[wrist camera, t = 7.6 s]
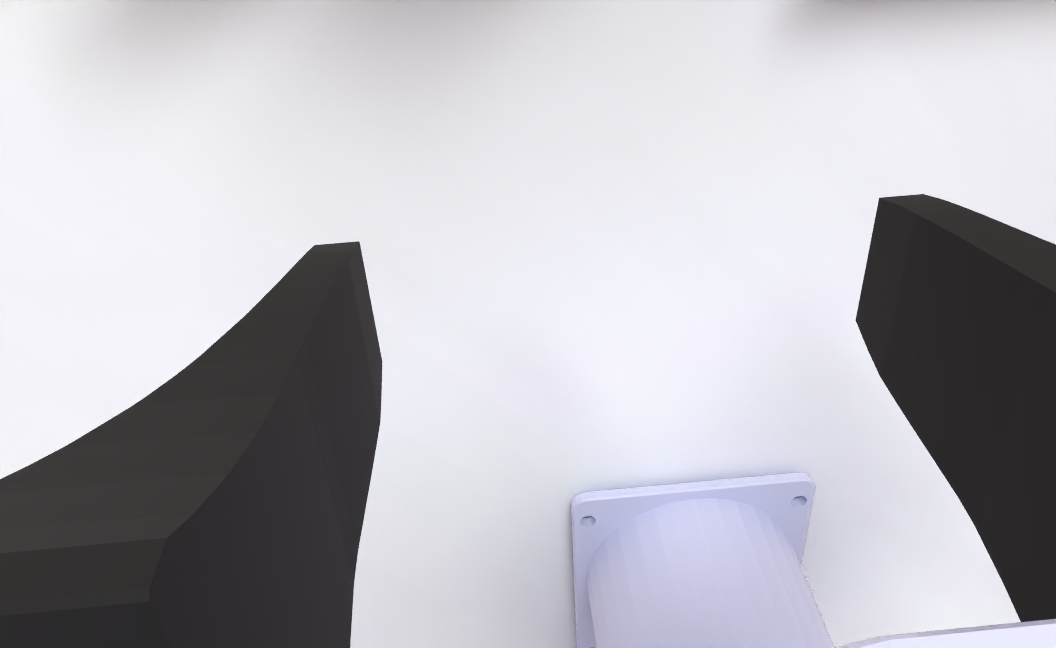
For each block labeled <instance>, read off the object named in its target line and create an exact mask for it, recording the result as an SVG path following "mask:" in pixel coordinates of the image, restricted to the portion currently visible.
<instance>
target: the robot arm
mask: <svg viewBox="0 0 1056 648" xmlns="http://www.w3.org/2000/svg"><path fill="white" fill-rule="evenodd" d="M856 322H857V325H858V327H859V329H860V332H861V334H862V337H863V339H864V341H865V344H866V346H867V349H868V351H869V353H870V355H871V358H872V360H873V362H874V364H875V366H876V368H877V371H878V373H879V375H880V377H881V378H882V380H883V382H884V383H885V385H886V387H887V388H888V390H889V391H890V393H891V395H892V396H893V398H894V399H895V401H896V402H897V404H898V406H899V407H900V409H901V410H902V412H903V413H904V415H905V417H906V418H907V420H908V421H909V423H910V424H911V426H912V427H913V429H914V430H915V432H916V433H917V435H918V436H919V438H920V440H921V441H922V443H923V444H924V446H925V447H926V449H927V450H928V452H929V453H930V455H931V456H932V458H933V459H934V461H935V462H936V464H937V466H938V467H939V469H940V470H941V472H942V473H943V475H944V476H945V478H946V479H947V481H948V482H949V484H950V485H951V487H952V488H953V490H954V492H955V493H956V495H957V496H958V498H959V499H960V501H961V503H962V505H963V506H964V508H965V510H966V511H967V513H968V515H969V517H970V518H971V520H972V522H973V523H974V525H975V527H976V529H977V531H978V533H979V535H980V537H981V539H982V541H983V543H984V545H985V547H986V549H987V551H988V553H989V555H990V557H991V559H992V561H993V563H994V565H995V567H996V569H997V571H998V573H999V576H1000V578H1001V580H1002V582H1003V584H1004V586H1005V588H1006V590H1007V592H1008V594H1009V597H1010V599H1011V601H1012V603H1013V605H1014V608H1015V610H1016V612H1017V614H1018V616H1019V619H1020V621H1021V622H1019V623H1009V624H998V625H988V626H978V627H968V628H958V629H948V630H937V631H927V632H917V633H907V634H897V635H887V636H879V637H875V638H871V639H867V640H863V641H859V642H855V643H851V644H847V645H843V646H839V647H834V645H833V642H832V640H831V638H830V635H829V633H828V631H827V628H826V626H825V623H824V621H823V619H822V616H821V614H820V611H819V609H818V607H817V604H816V602H815V599H814V597H813V595H812V592H811V590H810V587H809V585H808V583H807V580H806V578H805V575H804V573H803V571H802V568H801V563H802V557H803V552H804V547H805V541H806V536H807V530H808V525H809V520H810V514H811V509H812V504H813V498H814V493H815V483H814V481H813V479H812V477H811V476H810V475H809V474H807V473H803V472H797V473H786V474H775V475H764V476H753V477H743V478H732V479H721V480H710V481H699V482H689V483H678V484H667V485H656V486H645V487H635V488H624V489H613V490H602V491H592V492H584V493H580V494H578V495H577V496H575V497H574V498H573V500H572V502H571V516H572V541H573V567H574V593H575V619H576V644H577V648H1056V245H1055V244H1053V243H1050V242H1048V241H1045V240H1043V239H1040V238H1038V237H1036V236H1033V235H1031V234H1028V233H1026V232H1023V231H1021V230H1019V229H1016V228H1014V227H1011V226H1009V225H1007V224H1004V223H1002V222H999V221H997V220H994V219H992V218H990V217H987V216H985V215H982V214H980V213H977V212H975V211H972V210H970V209H967V208H964V207H962V206H959V205H956V204H954V203H951V202H948V201H945V200H942V199H939V198H935V197H932V196H928V195H924V194H920V195H908V196H896V197H884V198H879V202H878V207H877V213H876V218H875V223H874V228H873V233H872V238H871V244H870V249H869V254H868V259H867V264H866V269H865V275H864V280H863V285H862V290H861V295H860V301H859V306H858V311H857V316H856ZM381 389H382V358H381V353H380V348H379V343H378V337H377V332H376V327H375V321H374V316H373V311H372V306H371V300H370V295H369V290H368V285H367V279H366V274H365V269H364V263H363V258H362V253H361V248H360V242H347V243H336V244H324V245H315V246H313V247H312V248H311V249H310V250H309V251H308V252H307V253H306V254H305V255H304V256H303V257H302V258H301V259H300V260H299V261H298V262H297V263H296V264H295V265H294V266H293V267H292V268H291V270H290V271H289V272H288V273H287V274H286V275H285V276H284V277H283V278H282V279H281V280H280V281H279V282H278V283H277V284H276V285H275V286H274V287H273V288H272V289H271V290H270V291H269V292H268V293H267V294H266V295H265V296H264V297H263V298H262V299H261V300H260V301H259V302H258V303H257V304H256V305H255V306H254V307H253V308H252V309H251V310H250V311H249V312H248V313H247V314H246V315H245V316H244V317H243V318H242V319H241V320H240V321H239V322H238V323H237V324H235V325H234V326H233V327H232V328H231V329H230V330H229V331H228V332H226V333H225V334H224V335H223V336H222V337H221V338H220V339H219V340H218V341H216V342H215V343H214V344H213V345H212V346H211V347H210V348H209V349H207V350H206V351H205V352H204V353H203V354H202V355H201V356H200V357H198V358H197V359H196V360H195V361H193V362H192V363H191V364H190V365H188V366H187V367H186V368H185V369H183V370H182V371H181V372H179V373H178V374H177V375H176V376H174V377H173V378H172V379H170V380H169V381H167V382H166V383H165V384H163V385H162V386H160V387H159V388H158V389H156V390H155V391H153V392H152V393H151V394H149V395H148V396H146V397H145V398H144V399H142V400H141V401H139V402H138V403H136V404H135V405H133V406H132V407H130V408H128V409H127V410H125V411H123V412H122V413H120V414H118V415H117V416H115V417H113V418H112V419H110V420H109V421H107V422H105V423H104V424H102V425H100V426H99V427H97V428H95V429H94V430H92V431H90V432H89V433H87V434H85V435H84V436H82V437H80V438H79V439H77V440H75V441H74V442H72V443H70V444H69V445H67V446H65V447H63V448H61V449H59V450H58V451H56V452H54V453H52V454H50V455H48V456H46V457H44V458H42V459H40V460H38V461H37V462H35V463H33V464H31V465H29V466H27V467H25V468H23V469H21V470H19V471H17V472H14V473H12V474H10V475H8V476H6V477H4V478H2V479H0V648H350V638H351V622H352V605H353V589H354V578H355V570H356V562H357V554H358V548H359V542H360V536H361V531H362V525H363V519H364V514H365V508H366V502H367V496H368V491H369V485H370V479H371V474H372V468H373V462H374V456H375V450H376V444H377V438H378V432H379V426H380V416H381ZM798 496H800V497H798ZM795 497H798V498H795ZM794 498H795V499H794ZM585 516H591V517H589V518H583V517H585Z"/></svg>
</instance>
